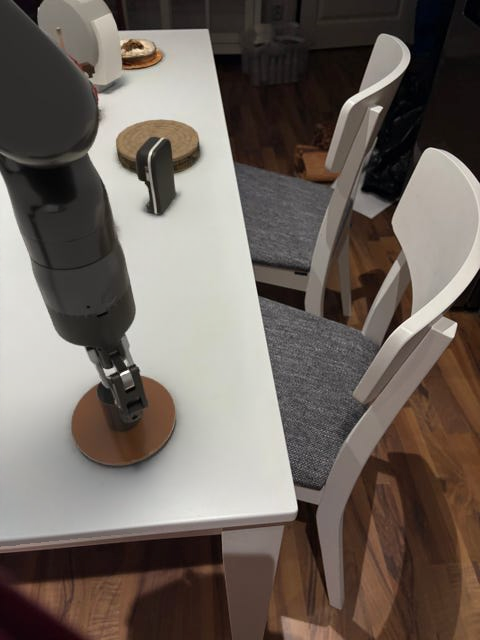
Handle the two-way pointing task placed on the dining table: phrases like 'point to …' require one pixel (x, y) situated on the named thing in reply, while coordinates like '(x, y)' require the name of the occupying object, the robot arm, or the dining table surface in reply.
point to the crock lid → (122, 425)
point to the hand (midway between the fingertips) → (117, 388)
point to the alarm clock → (86, 35)
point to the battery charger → (156, 172)
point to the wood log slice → (176, 132)
